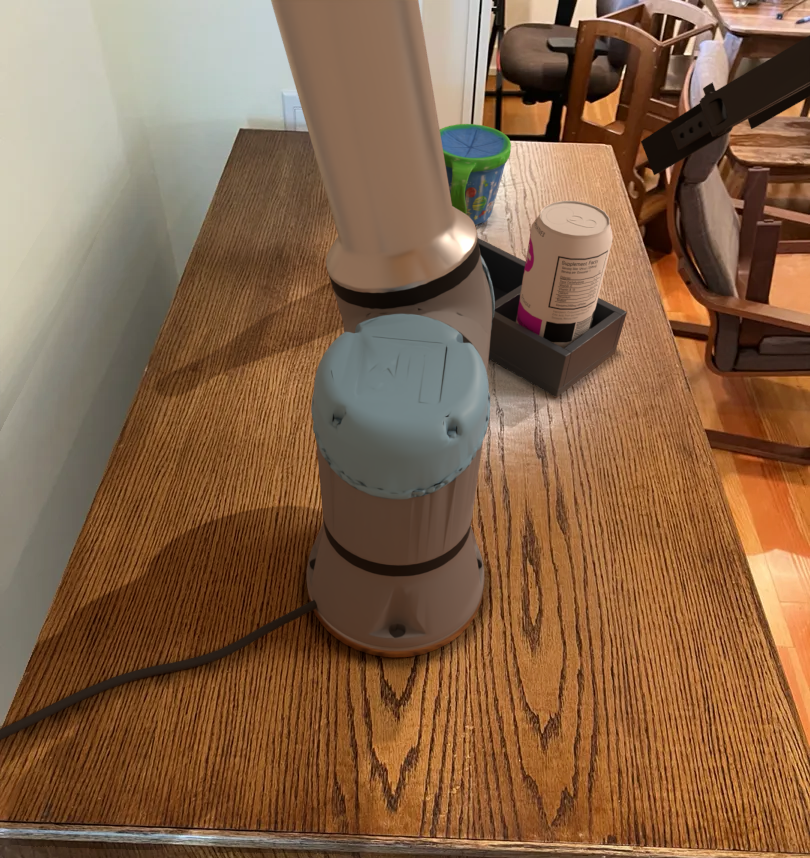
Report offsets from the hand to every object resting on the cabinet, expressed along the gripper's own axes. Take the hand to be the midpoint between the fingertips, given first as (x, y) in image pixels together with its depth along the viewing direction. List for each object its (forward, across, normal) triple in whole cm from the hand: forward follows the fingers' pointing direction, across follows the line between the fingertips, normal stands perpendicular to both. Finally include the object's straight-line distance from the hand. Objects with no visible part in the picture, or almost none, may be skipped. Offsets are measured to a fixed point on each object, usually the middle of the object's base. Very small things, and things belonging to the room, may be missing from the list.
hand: (701, 134), depth 62 cm
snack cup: (+48, +14, +8) cm, 50 cm away
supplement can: (+26, 0, -11) cm, 29 cm away
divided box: (+31, 0, -8) cm, 32 cm away
